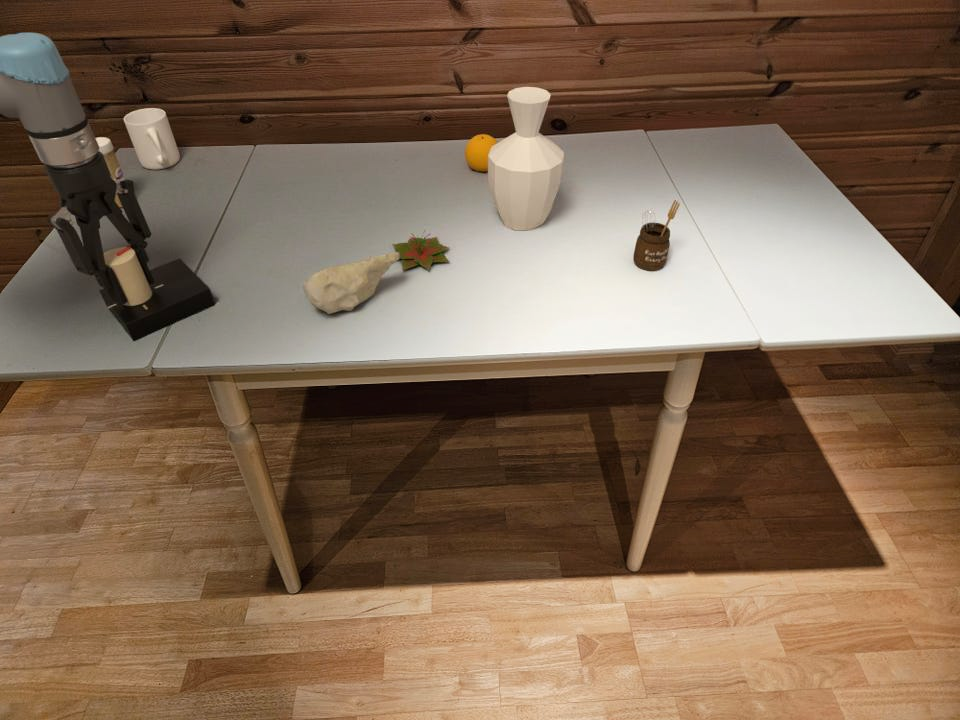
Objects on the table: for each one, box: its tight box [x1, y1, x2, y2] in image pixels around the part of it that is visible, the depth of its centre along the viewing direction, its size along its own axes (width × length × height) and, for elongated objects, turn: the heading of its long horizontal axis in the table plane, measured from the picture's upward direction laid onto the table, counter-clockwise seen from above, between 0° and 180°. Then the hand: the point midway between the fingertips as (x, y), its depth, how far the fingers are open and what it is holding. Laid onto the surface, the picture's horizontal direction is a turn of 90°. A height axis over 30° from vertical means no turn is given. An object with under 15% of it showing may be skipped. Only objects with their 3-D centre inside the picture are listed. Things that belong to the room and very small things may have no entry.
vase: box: [487, 86, 565, 232], centre depth 123 cm, size 14×14×25 cm
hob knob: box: [103, 245, 152, 306], centre depth 105 cm, size 5×5×8 cm
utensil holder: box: [633, 199, 681, 272], centre depth 116 cm, size 6×6×12 cm
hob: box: [98, 257, 216, 342], centre depth 110 cm, size 15×12×4 cm
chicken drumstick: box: [301, 251, 400, 315], centre depth 110 cm, size 15×7×15 cm
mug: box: [123, 107, 181, 171], centre depth 145 cm, size 9×12×11 cm
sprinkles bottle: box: [95, 136, 127, 209], centre depth 132 cm, size 5×5×13 cm
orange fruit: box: [464, 133, 499, 172], centre depth 145 cm, size 8×8×8 cm
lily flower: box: [391, 230, 451, 271], centre depth 121 cm, size 12×12×5 cm
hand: (133, 290), depth 107 cm, fingers closed on hob knob, 5 cm apart
